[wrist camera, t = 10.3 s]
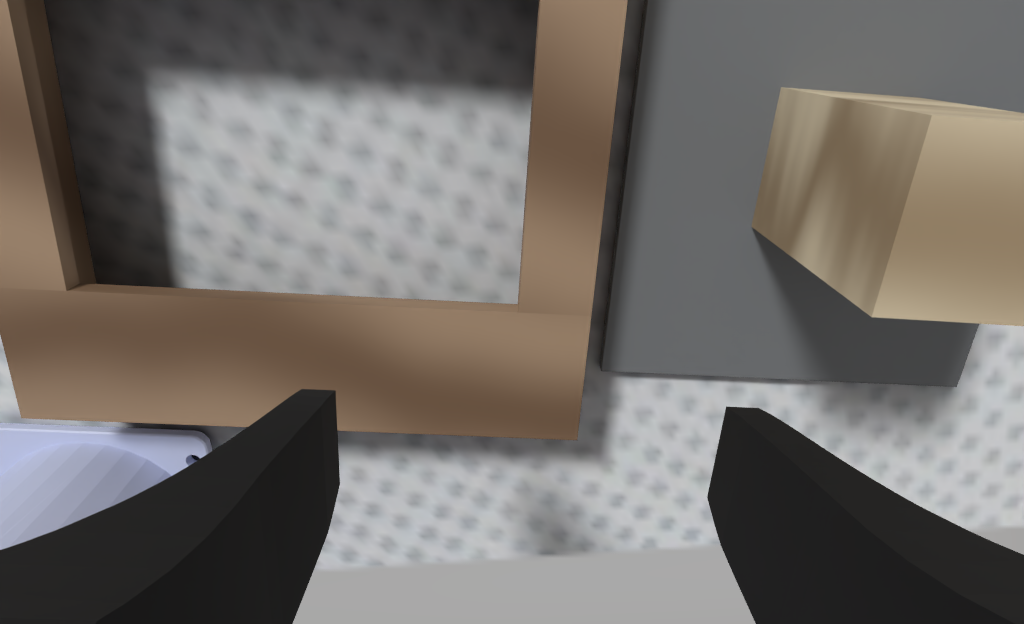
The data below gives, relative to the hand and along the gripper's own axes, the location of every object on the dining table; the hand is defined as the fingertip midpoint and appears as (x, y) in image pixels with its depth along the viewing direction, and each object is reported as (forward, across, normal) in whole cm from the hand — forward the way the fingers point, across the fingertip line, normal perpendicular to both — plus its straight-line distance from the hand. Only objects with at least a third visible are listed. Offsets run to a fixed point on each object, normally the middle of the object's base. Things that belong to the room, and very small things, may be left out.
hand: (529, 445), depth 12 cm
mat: (+9, -9, -4) cm, 14 cm away
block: (+9, -9, -4) cm, 13 cm away
